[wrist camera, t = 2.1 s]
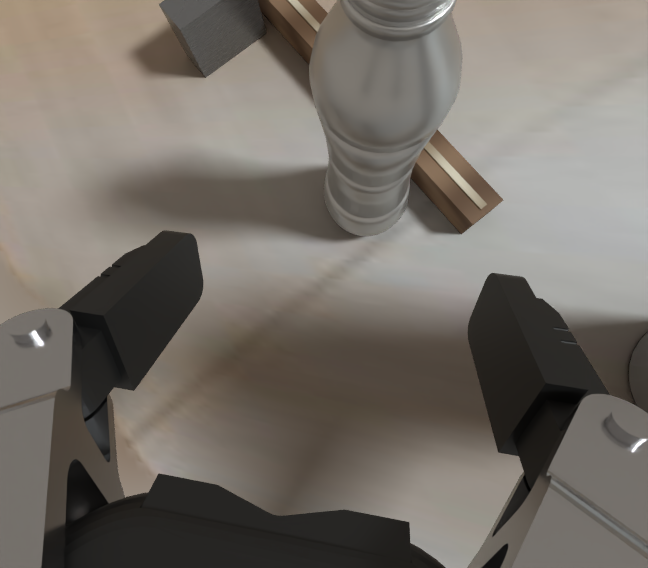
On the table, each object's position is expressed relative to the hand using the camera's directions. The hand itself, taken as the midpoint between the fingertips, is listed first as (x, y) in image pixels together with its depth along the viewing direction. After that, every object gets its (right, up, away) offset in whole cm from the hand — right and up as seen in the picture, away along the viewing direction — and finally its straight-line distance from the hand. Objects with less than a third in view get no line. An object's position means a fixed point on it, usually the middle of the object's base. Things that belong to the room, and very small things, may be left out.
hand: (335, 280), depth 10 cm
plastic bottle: (+3, +7, +20) cm, 21 cm away
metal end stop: (-9, +22, +22) cm, 33 cm away
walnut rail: (+3, +16, +21) cm, 26 cm away
